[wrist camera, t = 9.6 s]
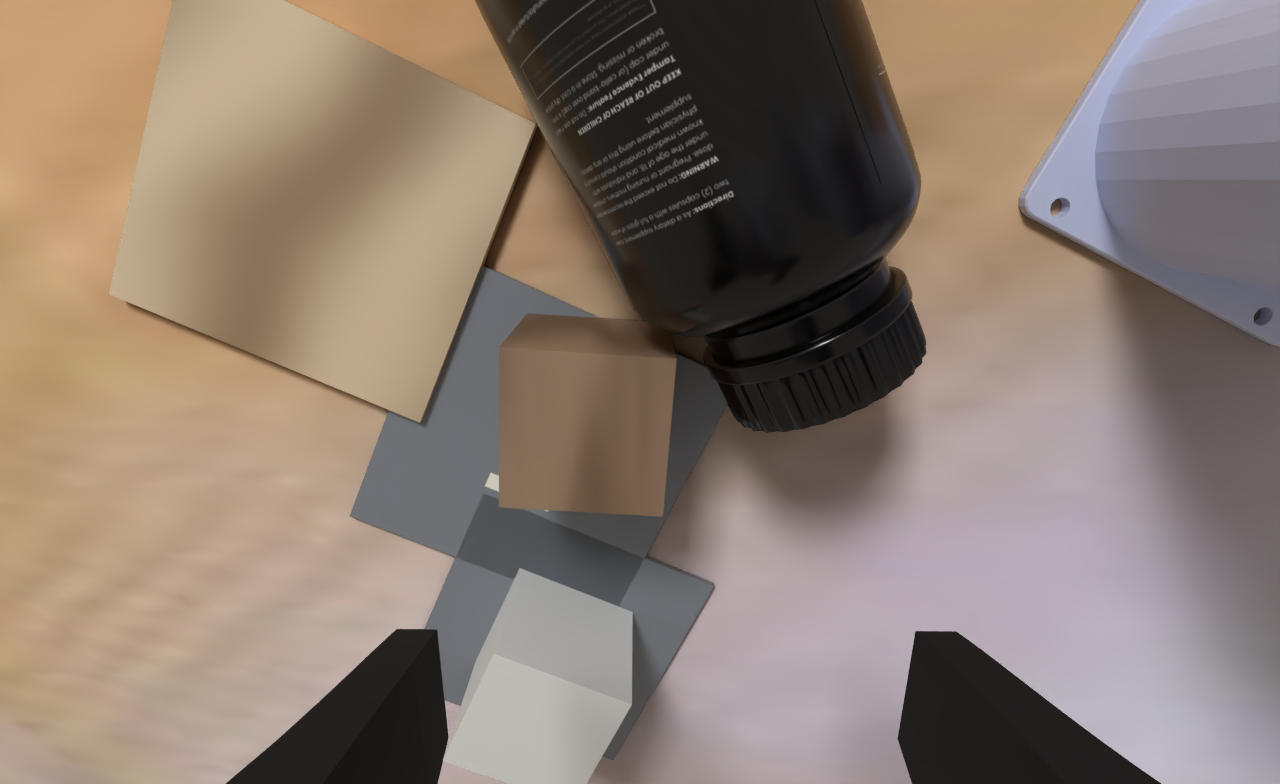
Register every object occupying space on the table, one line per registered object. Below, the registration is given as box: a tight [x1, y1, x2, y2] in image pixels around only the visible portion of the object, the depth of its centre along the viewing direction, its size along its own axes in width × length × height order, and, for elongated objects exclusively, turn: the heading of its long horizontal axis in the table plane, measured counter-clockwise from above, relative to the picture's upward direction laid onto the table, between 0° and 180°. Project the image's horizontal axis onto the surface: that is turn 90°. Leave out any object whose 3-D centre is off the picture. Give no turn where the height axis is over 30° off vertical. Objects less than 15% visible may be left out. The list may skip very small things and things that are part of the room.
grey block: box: [443, 568, 633, 784], centre depth 20 cm, size 4×4×4 cm
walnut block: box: [499, 313, 677, 517], centre depth 17 cm, size 4×4×4 cm
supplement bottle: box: [475, 0, 926, 433], centre depth 14 cm, size 7×7×12 cm
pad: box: [109, 0, 538, 423], centre depth 18 cm, size 9×9×1 cm
